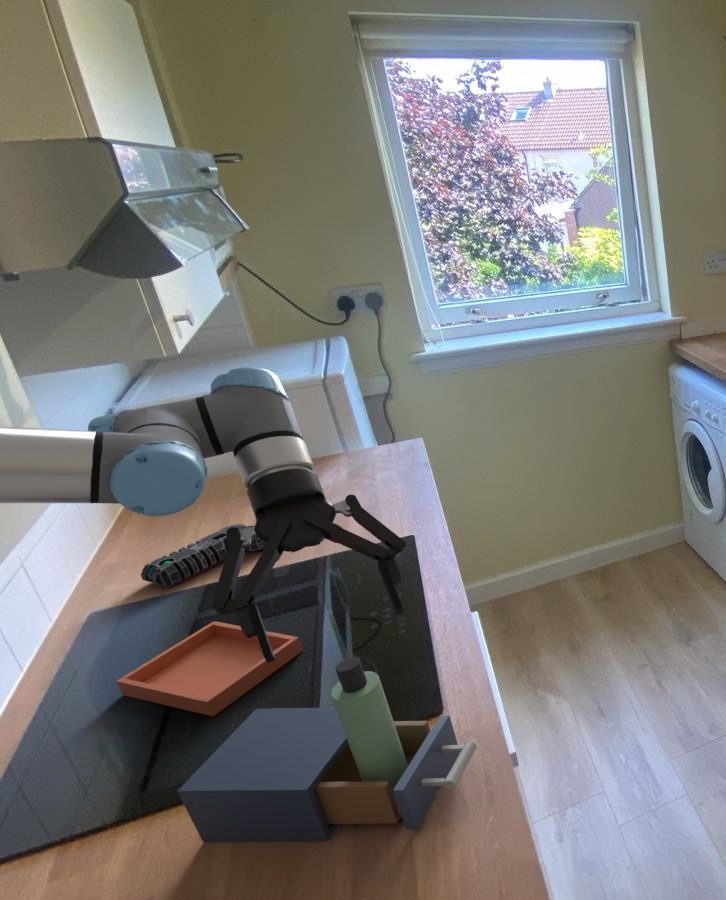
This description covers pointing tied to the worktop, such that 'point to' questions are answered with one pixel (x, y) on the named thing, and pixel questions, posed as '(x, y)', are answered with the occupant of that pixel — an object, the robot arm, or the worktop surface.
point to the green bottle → (368, 724)
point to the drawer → (413, 792)
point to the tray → (208, 669)
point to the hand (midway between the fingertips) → (337, 634)
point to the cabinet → (267, 778)
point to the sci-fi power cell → (194, 558)
